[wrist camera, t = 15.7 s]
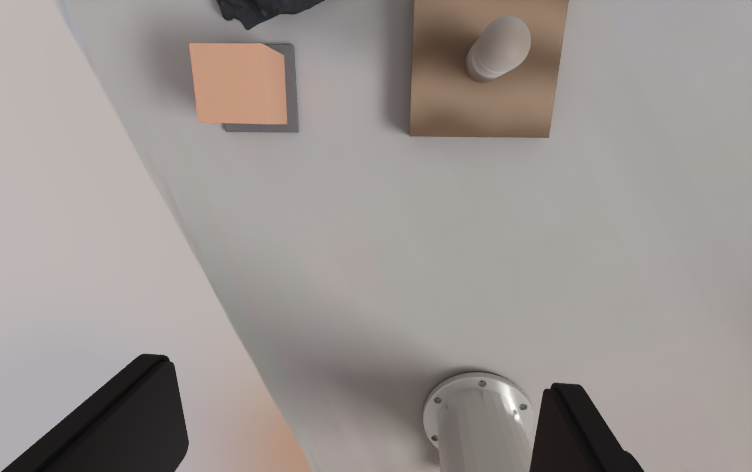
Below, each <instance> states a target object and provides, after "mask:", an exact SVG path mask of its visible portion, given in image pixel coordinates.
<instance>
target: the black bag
mask: <svg viewBox="0 0 752 472" xmlns="http://www.w3.org/2000/svg"><path fill="white" fill-rule="evenodd" d="M322 1H324V0H217V2H218V4H219V6H220V9H221V12H222V15H223V17H224V18H225V19H226V20H232V19H233V18H236V19H237V20H240V21H241V22H242V23H243V25H244V26H245V28H246V30H250V29H251V28H253V27H254V26H256V25H257V24H259V23H261V22H264V21H266V20H269V19H271V18H273V17H275V16H277V15H279V14H297V13H299V12H302V11H304V10H306V9H310V8H311V7H313V6H314V5H316V4H319V3H320V2H322Z"/></svg>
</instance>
